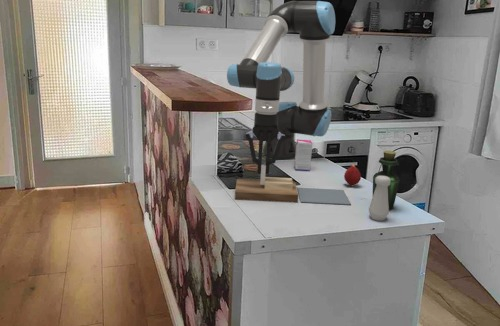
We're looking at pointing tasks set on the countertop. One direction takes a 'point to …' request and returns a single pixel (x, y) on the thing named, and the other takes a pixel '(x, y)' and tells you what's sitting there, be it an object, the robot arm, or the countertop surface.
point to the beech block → (278, 184)
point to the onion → (352, 175)
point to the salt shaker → (380, 199)
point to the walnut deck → (263, 192)
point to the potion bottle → (387, 166)
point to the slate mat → (323, 196)
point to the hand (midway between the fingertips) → (262, 183)
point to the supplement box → (303, 155)
